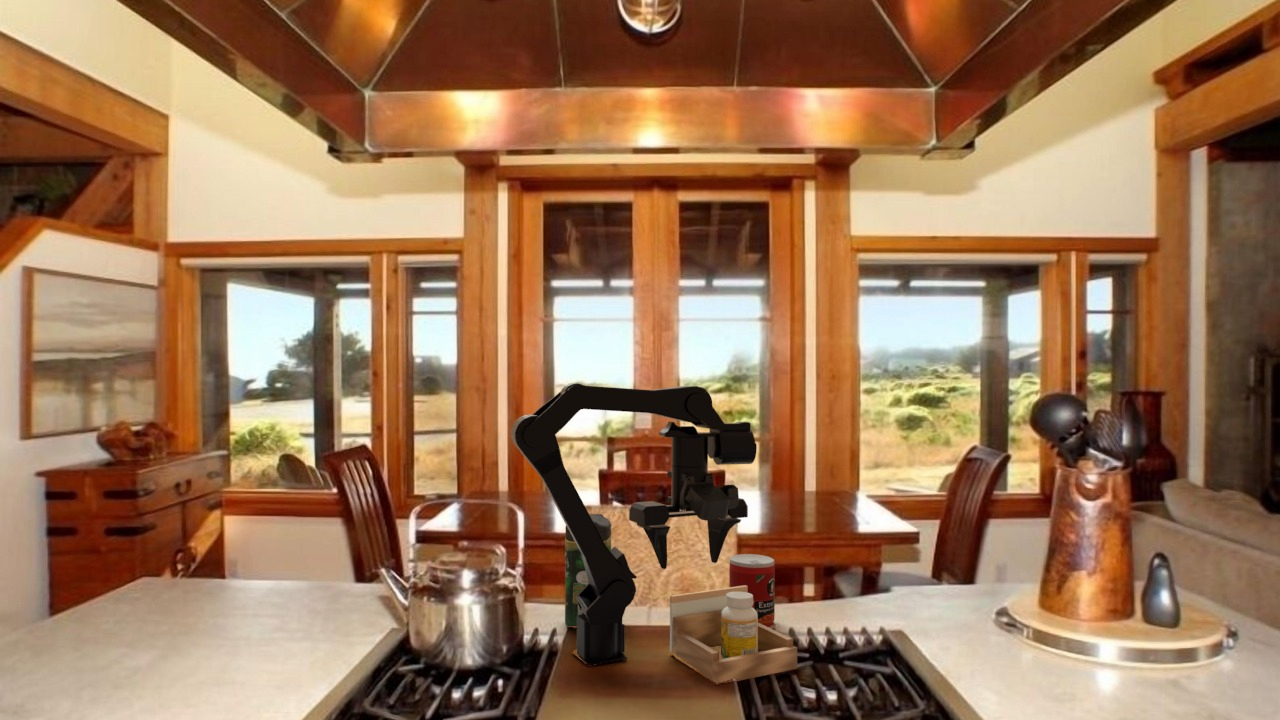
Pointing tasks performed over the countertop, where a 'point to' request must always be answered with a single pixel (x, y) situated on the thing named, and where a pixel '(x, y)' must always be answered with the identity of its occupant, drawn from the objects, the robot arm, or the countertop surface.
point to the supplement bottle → (739, 626)
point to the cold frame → (705, 632)
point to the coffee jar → (579, 568)
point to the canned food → (756, 582)
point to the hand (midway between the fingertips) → (689, 565)
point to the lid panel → (699, 603)
